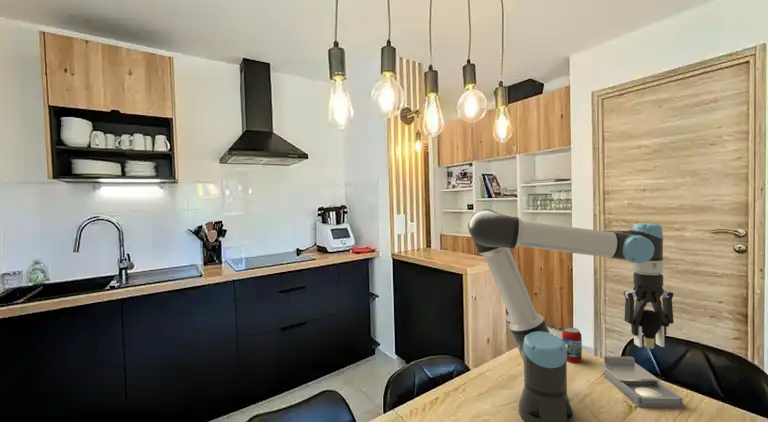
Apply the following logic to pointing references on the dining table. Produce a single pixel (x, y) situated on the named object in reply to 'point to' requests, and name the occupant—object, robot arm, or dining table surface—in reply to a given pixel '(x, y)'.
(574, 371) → the dining table surface
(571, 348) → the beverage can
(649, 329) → the light bulb
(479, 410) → the dining table surface
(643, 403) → the holder
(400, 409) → the dining table surface
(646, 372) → the lid
